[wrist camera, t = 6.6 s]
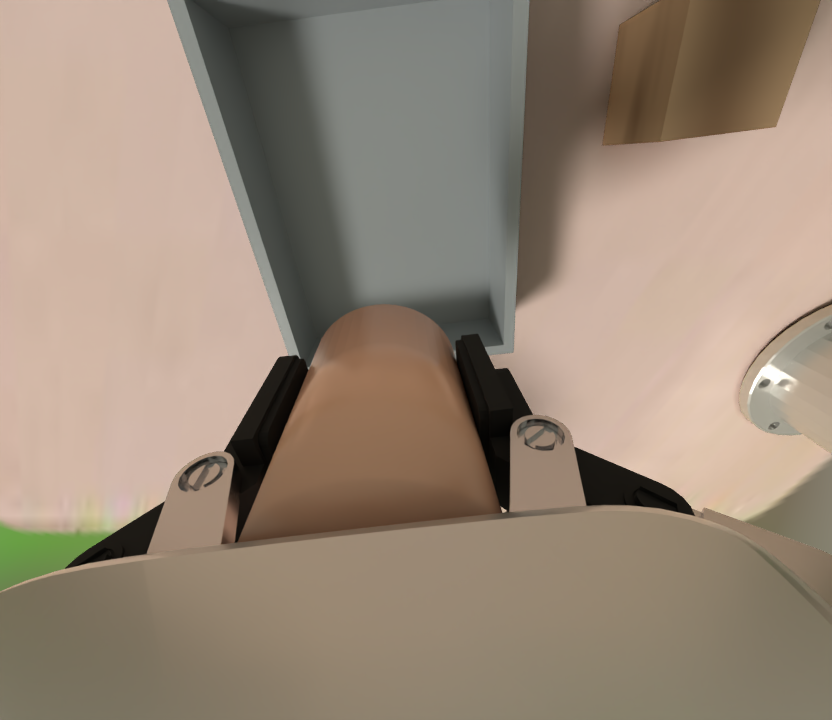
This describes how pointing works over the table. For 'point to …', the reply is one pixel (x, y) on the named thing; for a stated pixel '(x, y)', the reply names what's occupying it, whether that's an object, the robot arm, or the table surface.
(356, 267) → the grey tote
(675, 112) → the walnut cube
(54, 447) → the table surface
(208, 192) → the table surface
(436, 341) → the terracotta cylinder
